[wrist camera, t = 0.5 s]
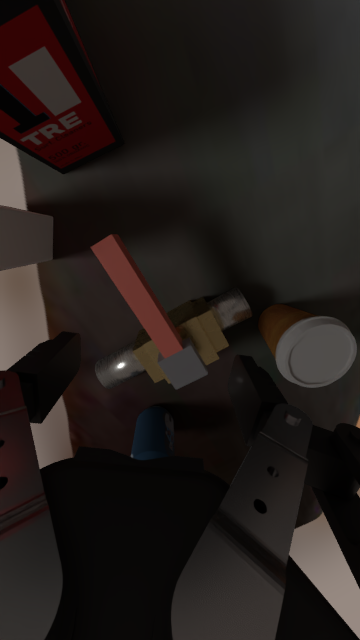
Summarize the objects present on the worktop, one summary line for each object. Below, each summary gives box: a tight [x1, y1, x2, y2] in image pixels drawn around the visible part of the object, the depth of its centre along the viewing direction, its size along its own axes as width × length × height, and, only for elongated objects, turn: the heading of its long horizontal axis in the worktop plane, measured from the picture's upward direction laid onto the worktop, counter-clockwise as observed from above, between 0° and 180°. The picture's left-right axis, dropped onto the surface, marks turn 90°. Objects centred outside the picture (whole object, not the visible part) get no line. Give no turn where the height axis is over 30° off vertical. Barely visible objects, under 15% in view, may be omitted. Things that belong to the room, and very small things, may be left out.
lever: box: [90, 234, 208, 390], centre depth 26 cm, size 18×4×3 cm, turn 29°
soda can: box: [131, 406, 174, 460], centre depth 39 cm, size 7×7×12 cm
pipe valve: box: [95, 287, 252, 389], centre depth 34 cm, size 25×7×9 cm, turn 119°
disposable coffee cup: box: [258, 304, 357, 388], centre depth 33 cm, size 10×10×12 cm
